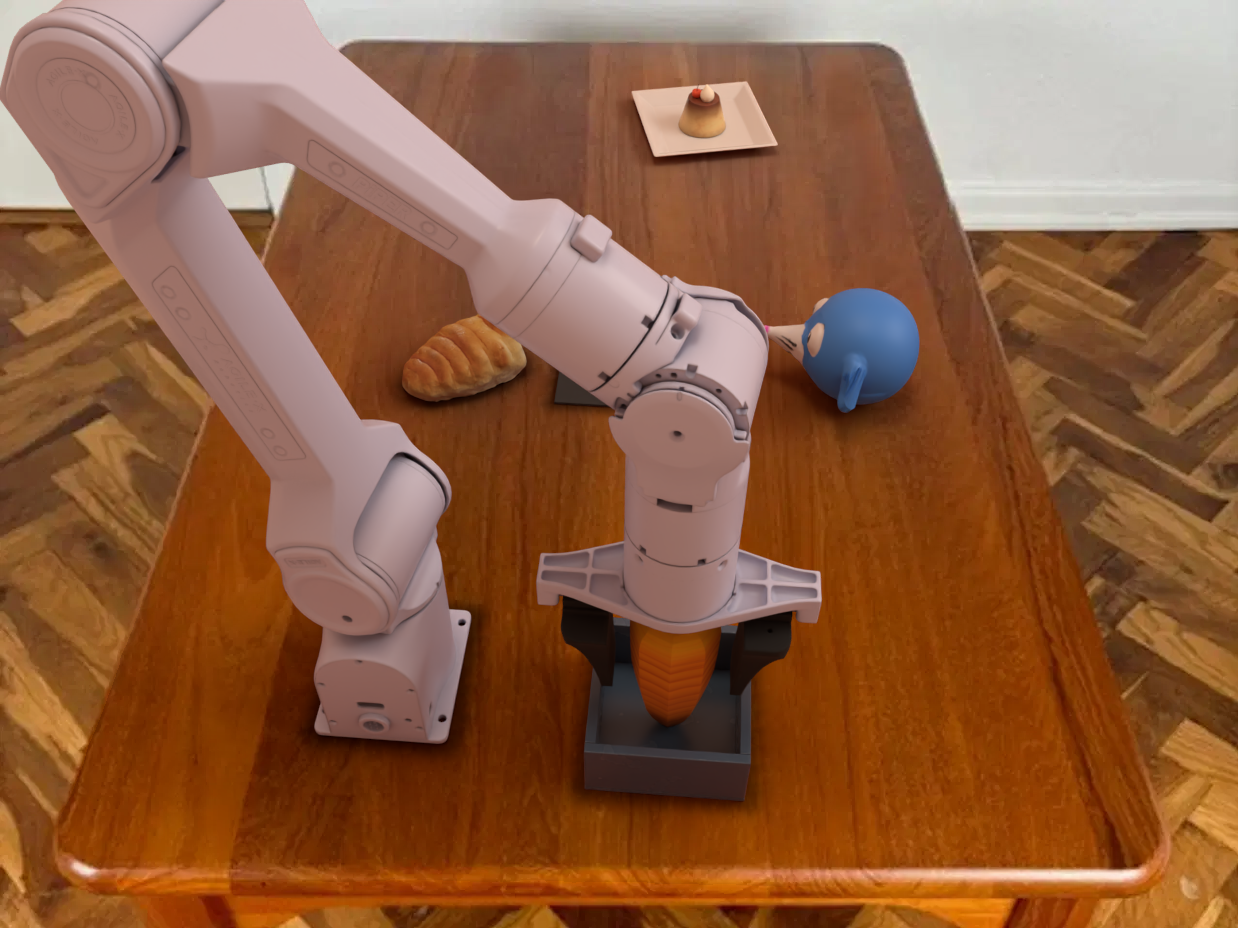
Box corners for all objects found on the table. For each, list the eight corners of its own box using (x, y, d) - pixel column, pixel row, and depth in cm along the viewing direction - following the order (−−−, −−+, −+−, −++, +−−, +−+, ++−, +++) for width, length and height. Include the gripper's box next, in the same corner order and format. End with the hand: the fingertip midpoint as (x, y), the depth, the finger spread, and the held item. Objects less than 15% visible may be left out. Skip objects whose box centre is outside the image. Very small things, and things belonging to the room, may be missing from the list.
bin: (744, 801, 69) (750, 764, 65) (584, 789, 69) (583, 751, 66) (745, 666, 75) (751, 626, 72) (598, 655, 75) (598, 615, 72)
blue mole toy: (764, 323, 97) (775, 238, 91) (912, 345, 96) (933, 261, 89) (741, 424, 89) (751, 339, 83) (902, 451, 88) (924, 366, 81)
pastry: (432, 424, 89) (426, 386, 86) (385, 376, 93) (378, 339, 90) (534, 371, 93) (532, 334, 90) (485, 327, 97) (481, 290, 94)
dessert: (630, 101, 121) (631, 57, 117) (746, 91, 122) (750, 47, 119) (653, 166, 113) (655, 121, 109) (777, 155, 114) (782, 110, 111)
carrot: (610, 715, 72) (611, 560, 61) (674, 673, 74) (686, 515, 63) (662, 775, 69) (672, 624, 58) (726, 729, 71) (748, 575, 60)
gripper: (829, 470, 60) (798, 626, 70) (544, 452, 61) (553, 609, 71) (836, 581, 56) (801, 732, 65) (526, 560, 56) (538, 713, 66)
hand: (671, 675), depth 68 cm, fingers open, 7 cm apart
